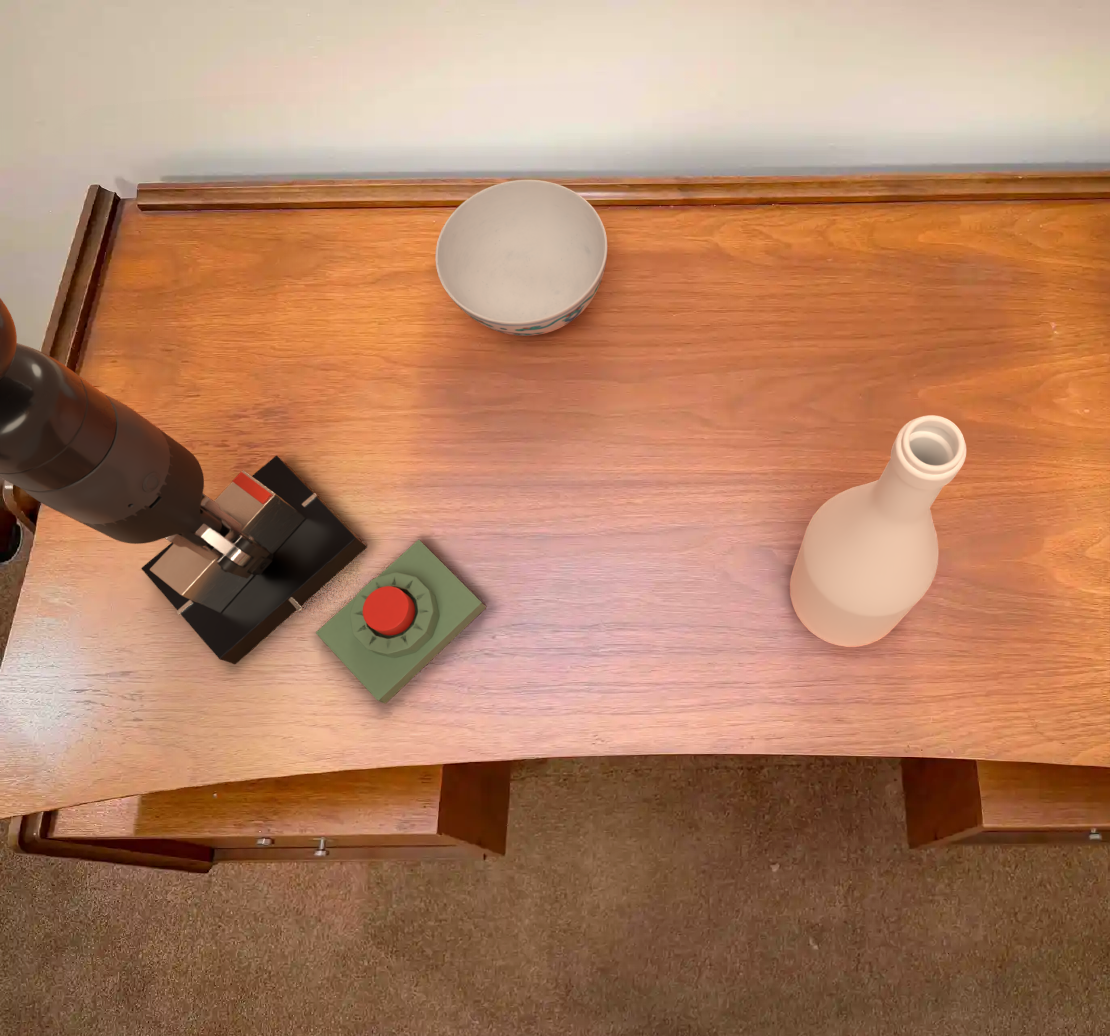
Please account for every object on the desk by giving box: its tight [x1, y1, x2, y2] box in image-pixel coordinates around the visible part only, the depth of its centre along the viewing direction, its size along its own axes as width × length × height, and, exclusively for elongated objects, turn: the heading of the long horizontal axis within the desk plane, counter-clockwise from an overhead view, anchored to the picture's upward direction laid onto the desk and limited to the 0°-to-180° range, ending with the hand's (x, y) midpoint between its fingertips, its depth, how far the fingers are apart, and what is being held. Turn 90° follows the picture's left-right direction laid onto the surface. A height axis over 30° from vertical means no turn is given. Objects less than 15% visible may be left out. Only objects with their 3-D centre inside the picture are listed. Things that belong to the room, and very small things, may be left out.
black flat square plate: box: [140, 455, 368, 665], centre depth 73 cm, size 14×14×3 cm
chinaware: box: [435, 179, 608, 337], centre depth 79 cm, size 15×15×8 cm
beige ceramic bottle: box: [789, 414, 967, 648], centre depth 58 cm, size 10×10×30 cm
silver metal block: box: [150, 470, 305, 612], centre depth 69 cm, size 10×4×6 cm, turn 145°
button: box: [363, 586, 415, 635], centre depth 69 cm, size 4×4×2 cm
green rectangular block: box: [315, 539, 487, 705], centre depth 71 cm, size 11×8×4 cm
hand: (243, 549), depth 71 cm, fingers closed on silver metal block, 3 cm apart
